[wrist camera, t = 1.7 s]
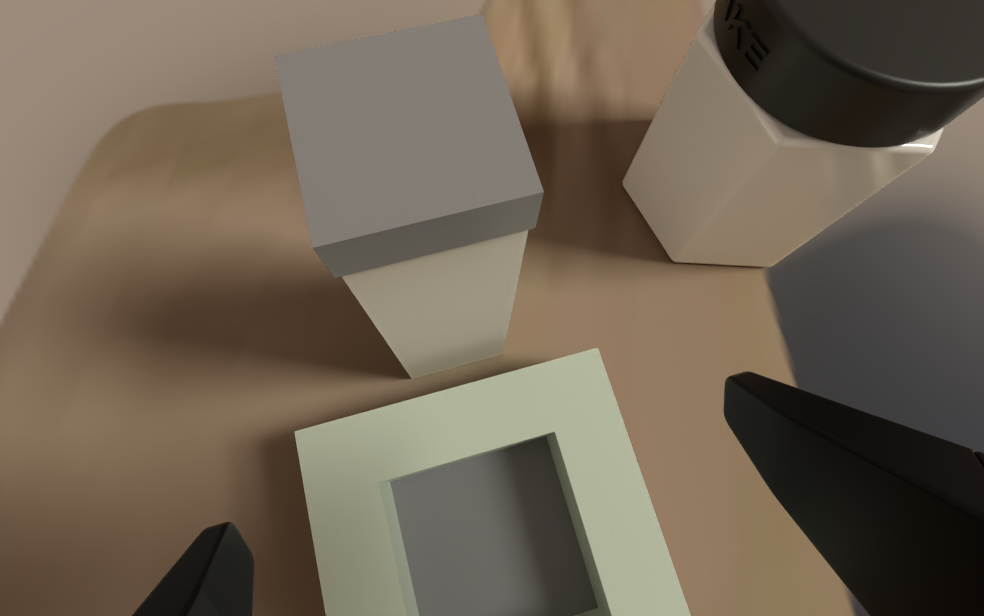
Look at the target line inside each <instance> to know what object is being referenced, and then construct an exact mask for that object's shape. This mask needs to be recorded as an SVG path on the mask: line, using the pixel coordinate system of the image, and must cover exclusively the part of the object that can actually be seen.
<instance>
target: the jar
mask: <svg viewBox="0 0 984 616" xmlns="http://www.w3.org/2000/svg"><path fill="white" fill-rule="evenodd" d="M983 97H984V0H716V2H715V4H714V6H713V7H712V9H711V10H710V12H709V13H708V15H707V16H706V18H705V19H704V21H703V22H702V24H701V25H700V27H699V28H698V30H697V31H696V33H695V35H694V37H693V39H692V41H691V43H690V45H689V47H688V49H687V51H686V53H685V55H684V57H683V59H682V61H681V63H680V65H679V66H678V68H677V70H676V72H675V73H674V75H673V77H672V79H671V81H670V82H669V84H668V86H667V88H666V90H665V92H664V95H663V97H662V100H661V102H660V106H659V108H658V110H657V112H656V114H655V116H654V118H653V120H652V122H651V124H650V126H649V128H648V130H647V132H646V134H645V136H644V138H643V140H642V143H641V145H640V147H639V149H638V151H637V153H636V155H635V157H634V159H633V161H632V163H631V165H630V167H629V169H628V171H627V173H626V175H625V177H624V179H623V183H622V184H623V186H624V188H625V189H626V191H627V193H628V194H629V196H630V197H631V199H632V200H633V202H634V203H635V205H636V206H637V208H638V209H639V211H640V212H641V214H642V215H643V217H644V218H645V220H646V222H647V223H648V225H649V226H650V228H651V229H652V231H653V232H654V234H655V235H656V237H657V238H658V240H659V241H660V243H661V245H662V246H663V248H664V249H665V251H666V252H667V254H668V255H669V257H670V258H671V260H672V261H674V262H682V263H701V264H719V265H737V266H756V267H771V266H773V265H775V264H776V263H777V262H779V261H780V260H781V259H783V258H784V257H786V256H787V255H789V254H790V253H791V252H793V251H794V250H796V249H797V248H798V247H800V246H801V245H802V244H804V243H806V242H807V241H808V240H810V239H811V238H813V237H814V236H815V235H817V234H818V233H820V232H821V231H822V230H824V229H825V228H826V227H828V226H829V225H831V224H832V223H834V222H835V221H836V220H838V219H839V218H841V217H842V216H843V215H845V214H846V213H848V212H849V211H851V210H852V209H853V208H855V207H856V206H858V205H859V204H860V203H862V202H863V201H865V200H866V199H868V198H869V197H870V196H872V195H873V194H874V193H876V192H877V191H879V190H880V189H882V188H883V187H884V186H886V185H887V184H889V183H890V182H891V181H893V180H894V179H896V178H897V177H898V176H900V175H901V174H903V173H904V172H906V171H907V170H908V169H910V168H911V167H913V166H914V165H916V164H917V163H918V162H920V161H921V160H923V159H924V158H925V157H927V156H928V155H930V154H931V153H932V152H933V151H934V149H935V147H936V145H937V143H938V140H939V138H940V136H941V134H942V132H943V129H944V127H945V125H947V124H948V123H950V122H951V121H952V120H954V119H955V118H956V117H957V116H959V115H960V114H962V113H963V112H964V111H965V110H967V109H968V108H970V107H971V106H972V105H974V104H975V103H976V102H978V101H979V100H980V99H981V98H983Z"/></svg>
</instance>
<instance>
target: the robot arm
mask: <svg viewBox="0 0 984 616" xmlns="http://www.w3.org/2000/svg"><path fill="white" fill-rule="evenodd" d="M724 416H725V419H726V421H727V423H728V425H729V427H730V428H731V430H732V431H733V433H734V434H735V436H736V438H737V439H738V441H739V442H740V444H741V445H742V447H743V448H744V450H745V452H746V453H747V455H748V456H749V458H750V459H751V461H752V463H753V464H754V466H755V467H756V469H757V470H758V472H759V473H760V475H761V477H762V478H763V480H764V481H765V483H766V484H767V486H768V487H769V489H770V490H771V492H772V493H773V494H774V496H775V497H776V498H777V500H778V501H779V502H780V503H781V505H782V506H783V507H784V509H785V510H786V511H787V512H788V514H789V515H790V516H791V517H792V519H793V520H794V521H795V522H796V524H797V525H798V526H799V527H800V529H801V530H802V531H803V532H804V534H805V535H806V536H807V537H808V539H809V540H810V541H811V542H812V544H813V545H814V546H815V547H816V549H817V550H818V551H819V552H820V554H821V555H822V556H823V557H824V559H825V560H826V561H827V562H828V564H829V565H830V566H831V567H832V569H833V570H834V571H835V572H836V574H837V575H838V576H839V577H840V579H841V580H842V581H843V582H844V584H845V585H846V586H847V588H848V589H849V590H850V591H851V593H852V594H853V595H854V596H855V598H856V599H857V600H858V601H859V603H860V604H861V605H862V606H863V608H864V609H865V610H866V611H867V612H868V614H869V615H870V616H984V453H982V452H979V451H976V452H973V450H972V449H970V448H967V447H964V446H961V445H958V444H955V443H953V442H950V441H947V440H944V439H941V438H939V437H936V436H933V435H930V434H927V433H924V432H921V431H919V430H916V429H913V428H910V427H907V426H904V425H901V424H898V423H896V422H893V421H890V420H887V419H884V418H881V417H879V416H876V415H873V414H870V413H867V412H864V411H861V410H858V409H856V408H853V407H850V406H847V405H844V404H841V403H838V402H836V401H833V400H829V399H827V398H824V397H821V396H818V395H815V394H813V393H810V392H807V391H804V390H801V389H798V388H795V387H793V386H790V385H787V384H784V383H781V382H778V381H775V380H773V379H770V378H767V377H764V376H761V375H758V374H755V373H752V372H742V373H739V374H735V375H732V376H729V377H728V378H727V379H726V381H725V389H724ZM253 582H254V560H253V556H252V553H251V551H250V549H249V547H248V546H247V544H246V542H245V541H244V539H243V537H242V536H241V534H240V532H239V531H238V529H237V528H236V526H235V525H234V524H233V523H231V522H225V523H221V524H218V525H215V526H211V527H208V528H206V529H205V530H203V531H202V532H201V533H200V535H199V536H198V537H197V538H196V539H195V541H194V542H193V543H192V544H191V545H190V547H189V548H188V549H187V550H186V551H185V553H184V554H183V555H182V556H181V557H180V559H179V560H178V561H177V562H176V563H175V565H174V566H173V567H172V568H171V569H170V571H169V572H168V573H167V574H166V575H165V577H164V578H163V579H162V580H161V581H160V583H159V584H158V585H157V586H156V587H155V589H154V590H153V591H152V592H151V593H150V595H149V596H148V597H147V598H146V599H145V601H144V602H143V603H142V604H141V605H140V607H139V608H138V609H137V610H136V611H135V613H134V614H133V615H132V616H252V611H253Z"/></svg>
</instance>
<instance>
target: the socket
mask: <svg viewBox="0 0 984 616" xmlns="http://www.w3.org/2000/svg"><path fill="white" fill-rule="evenodd" d="M294 433H295V438H296V444H297V450H298V456H299V462H300V468H301V474H302V479H303V485H304V491H305V497H306V503H307V509H308V514H309V520H310V526H311V532H312V538H313V544H314V549H315V555H316V561H317V567H318V573H319V579H320V584H321V590H322V596H323V602H324V608H325V614H326V616H691V615H690V612H689V609H688V606H687V603H686V601H685V598H684V595H683V592H682V589H681V586H680V583H679V580H678V578H677V575H676V572H675V569H674V566H673V563H672V560H671V557H670V554H669V552H668V549H667V546H666V543H665V540H664V537H663V534H662V531H661V529H660V526H659V523H658V520H657V517H656V514H655V511H654V508H653V506H652V503H651V500H650V497H649V494H648V491H647V488H646V485H645V483H644V480H643V477H642V474H641V471H640V468H639V465H638V462H637V459H636V457H635V454H634V451H633V448H632V445H631V442H630V439H629V436H628V434H627V431H626V428H625V425H624V422H623V419H622V416H621V413H620V411H619V408H618V405H617V402H616V399H615V396H614V393H613V390H612V388H611V385H610V382H609V379H608V376H607V373H606V370H605V367H604V364H603V362H602V359H601V356H600V353H599V350H598V348H595V349H591V350H587V351H584V352H580V353H576V354H573V355H569V356H566V357H562V358H558V359H555V360H551V361H548V362H544V363H540V364H537V365H533V366H529V367H526V368H522V369H519V370H515V371H511V372H508V373H504V374H500V375H497V376H493V377H490V378H486V379H482V380H479V381H475V382H471V383H468V384H464V385H461V386H457V387H453V388H450V389H446V390H443V391H439V392H435V393H432V394H428V395H424V396H421V397H417V398H414V399H410V400H406V401H403V402H399V403H395V404H392V405H388V406H385V407H381V408H377V409H374V410H370V411H366V412H363V413H359V414H356V415H352V416H348V417H345V418H341V419H338V420H334V421H330V422H327V423H323V424H319V425H316V426H312V427H309V428H305V429H301V430H298V431H294Z"/></svg>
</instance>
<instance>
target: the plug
mask: <svg viewBox="0 0 984 616" xmlns="http://www.w3.org/2000/svg"><path fill="white" fill-rule="evenodd" d="M274 57H275V62H276V67H277V72H278V77H279V82H280V87H281V92H282V97H283V102H284V107H285V112H286V117H287V122H288V127H289V132H290V137H291V142H292V147H293V152H294V157H295V162H296V167H297V172H298V177H299V182H300V187H301V192H302V197H303V202H304V207H305V212H306V217H307V222H308V227H309V232H310V237H311V242H312V247H313V249H314V250H315V252H316V253H317V255H318V256H319V257H320V259H321V260H322V261H323V263H324V264H325V266H326V267H327V268H328V270H329V271H330V272H331V274H332V275H333V277H334V278H338V277H342V278H343V279H344V281H345V282H346V284H347V285H348V287H349V288H350V290H351V291H352V293H353V294H354V295H355V297H356V298H357V300H358V301H359V303H360V304H361V306H362V307H363V309H364V310H365V312H366V313H367V314H368V316H369V317H370V319H371V320H372V322H373V323H374V325H375V326H376V328H377V329H378V331H379V332H380V333H381V335H382V336H383V338H384V339H385V341H386V342H387V344H388V345H389V347H390V348H391V349H392V351H393V352H394V354H395V355H396V357H397V358H398V360H399V361H400V363H401V364H402V366H403V367H404V368H405V370H406V371H407V373H408V374H409V376H410V377H411V379H415V378H418V377H422V376H426V375H429V374H433V373H437V372H440V371H444V370H448V369H451V368H455V367H459V366H462V365H466V364H470V363H473V362H477V361H481V360H484V359H488V358H492V357H495V356H499V355H503V351H504V346H505V341H506V336H507V332H508V327H509V322H510V317H511V312H512V307H513V303H514V298H515V293H516V288H517V283H518V278H519V274H520V269H521V264H522V259H523V254H524V249H525V245H526V240H527V235H528V230H531V229H535V228H536V224H537V220H538V215H539V211H540V207H541V203H542V198H543V194H544V191H543V188H542V185H541V182H540V179H539V176H538V173H537V170H536V168H535V165H534V162H533V159H532V156H531V153H530V150H529V147H528V145H527V142H526V139H525V136H524V133H523V130H522V127H521V124H520V122H519V119H518V116H517V113H516V110H515V107H514V104H513V101H512V99H511V96H510V93H509V90H508V87H507V84H506V81H505V78H504V76H503V73H502V70H501V67H500V64H499V61H498V58H497V55H496V52H495V50H494V47H493V44H492V41H491V38H490V35H489V32H488V29H487V27H486V24H485V21H484V18H483V15H482V14H479V15H474V16H470V17H465V18H460V19H455V20H450V21H445V22H440V23H436V24H430V25H425V26H420V27H415V28H410V29H406V30H400V31H395V32H390V33H386V34H381V35H376V36H371V37H366V38H361V39H356V40H351V41H346V42H341V43H336V44H332V45H327V46H321V47H316V48H312V49H307V50H302V51H297V52H292V53H287V54H282V55H277V56H274Z"/></svg>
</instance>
